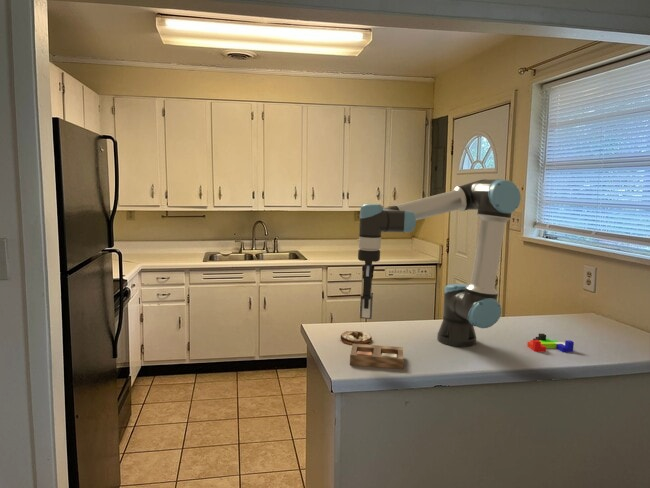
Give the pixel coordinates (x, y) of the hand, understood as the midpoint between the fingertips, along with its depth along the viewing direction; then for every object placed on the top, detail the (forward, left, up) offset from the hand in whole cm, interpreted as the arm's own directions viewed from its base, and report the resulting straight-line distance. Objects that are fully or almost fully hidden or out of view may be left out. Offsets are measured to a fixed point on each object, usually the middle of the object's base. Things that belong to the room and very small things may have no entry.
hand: (366, 315), depth 170 cm
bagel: (+5, -21, -17) cm, 27 cm away
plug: (0, 0, -1) cm, 1 cm away
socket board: (-4, 0, -16) cm, 17 cm away
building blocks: (-70, -30, -17) cm, 78 cm away
